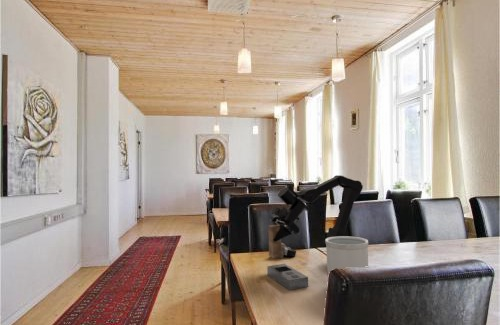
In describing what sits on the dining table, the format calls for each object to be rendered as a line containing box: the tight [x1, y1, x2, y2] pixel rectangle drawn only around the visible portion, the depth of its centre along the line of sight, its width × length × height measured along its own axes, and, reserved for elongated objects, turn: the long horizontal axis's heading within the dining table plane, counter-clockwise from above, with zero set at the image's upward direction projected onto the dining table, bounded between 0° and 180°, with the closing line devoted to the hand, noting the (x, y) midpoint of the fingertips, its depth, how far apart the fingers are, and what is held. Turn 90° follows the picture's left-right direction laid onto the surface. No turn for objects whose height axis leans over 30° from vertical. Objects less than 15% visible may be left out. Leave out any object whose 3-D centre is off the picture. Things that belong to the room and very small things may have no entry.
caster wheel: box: [278, 242, 297, 259], centre depth 153 cm, size 7×11×10 cm
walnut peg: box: [267, 224, 282, 259], centre depth 130 cm, size 4×4×13 cm
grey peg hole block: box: [266, 263, 309, 291], centre depth 118 cm, size 18×8×4 cm, turn 22°
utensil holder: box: [324, 235, 369, 276], centre depth 109 cm, size 15×15×18 cm
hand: (271, 239), depth 129 cm, fingers closed on walnut peg, 4 cm apart
